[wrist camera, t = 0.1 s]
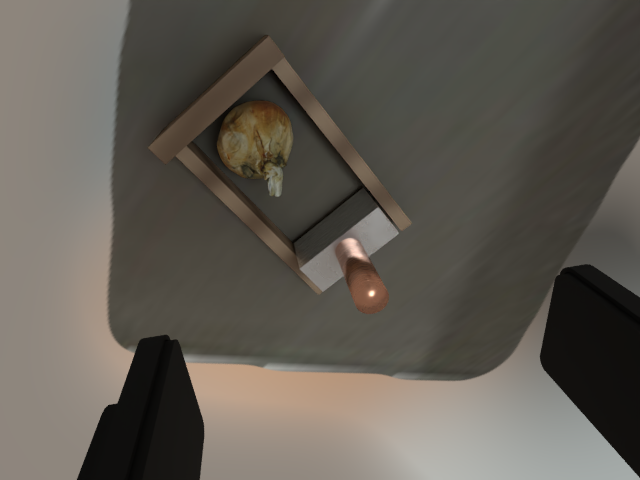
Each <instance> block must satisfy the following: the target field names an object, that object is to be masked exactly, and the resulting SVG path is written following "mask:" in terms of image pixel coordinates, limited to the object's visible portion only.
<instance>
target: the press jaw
mask: <svg viewBox="0 0 640 480" xmlns="http://www.w3.org/2000/svg"><path fill="white" fill-rule="evenodd" d="M398 234H399V232H398V231H397V230H396V228H395V227H394V226H393V224H392V223H391V222H390V221H389V219H388V218H387V217H386V215H385V214H384V213H383V211H382V210H381V209H380V208H379V206H378V205H377V204H376V203H375V201H374V200H373V199H372V198H371V196H370V195H369V194H368V193H367V191H366V190H365V189H364V188H362V189H361V190H360V191H358V192H357V193H356V194H355V195H353V196H352V197H351V198H350V199H348V200H347V201H346V202H345V203H343V204H342V205H341V206H340V207H338V208H337V209H336V210H335V211H333V212H332V213H331V214H330V215H329V216H327V217H326V218H325V219H324V220H322V221H321V222H320V223H319V224H317V225H316V226H315V227H314V228H312V229H311V230H310V231H309V232H307V233H306V234H305V235H304V236H302V237H301V238H300V239H299V240H297V241H296V242H295V243H294V247H295V251H296V256H297V260H298V265H299V269H300V270H301V271H302V272H303V273H304V274H305V275H306V276H307V277H308V278H309V279H310V280H311V281H312V282H313V283H314V284H315V285H316V286H317V287H318V288H319V289H320V290H321V291H322V292H323V291H324V290H326V289H327V288H328V287H330V286H331V285H332V284H334V283H335V282H336V281H338V280H339V279H340V278H341V277H343V276H344V277H345V280H346V282H347V285H348V287H349V290H350V292H351V295H352V297H353V300H354V302H355V305H356V307H357V309H358V310H359V311H361V312H363V313H366V314H373V313H377V312H379V311H381V310H382V309H383V308H384V307H385V306H386V305H387V303H388V300H389V294H388V291H387V290H386V288H385V286H384V284H383V282H382V280H381V279H380V277H379V275H378V273H377V271H376V269H375V267H374V266H373V264H372V262H371V260H370V258H369V256H370V255H372V254H373V253H374V252H375V251H377V250H378V249H379V248H381V247H382V246H383V245H385V244H386V243H387V242H389V241H390V240H391V239H392V238H394V237H395V236H396V235H398Z"/></svg>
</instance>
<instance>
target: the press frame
mask: <svg viewBox="0 0 640 480" xmlns="http://www.w3.org/2000/svg"><path fill="white" fill-rule="evenodd" d="M284 57H285V56H284V54H283V53H282V52H281V50H280V49H279V48H278V47H277V45H276V44H275V43H274V41H273V40H272V39H271V37H270V36H269V35H265V36H264V37H263V38H262V39H261V40H259V41H258V42H257V43H256V44H255V45H254V46H253V47H252V48H251V49H250V50H249V51H248V52H247V53H245V54H244V55H243V56H242V57H241V58H240V59H239V60H238V61H237V62H236V63H235V64H234V65H232V66H231V67H230V68H229V69H228V70H227V71H226V72H225V73H224V74H223V75H222V76H221V77H220V78H218V79H217V80H216V81H215V82H214V83H213V84H212V85H211V86H210V87H209V88H208V89H207V90H206V91H204V92H203V93H202V94H201V95H200V96H199V97H198V98H197V99H196V100H195V101H194V102H193V103H191V104H190V105H189V106H188V107H187V108H186V109H185V110H184V111H183V112H182V113H181V114H180V115H179V116H177V117H176V118H175V119H174V120H173V121H172V122H171V123H170V124H169V125H168V126H167V127H166V128H164V129H163V130H162V131H161V133H160V134H159V135H158V136H157V137H156V138H155V140H154V141H153V142H152V143H151V144H150V146H149V147H148V149H150V150H151V151H152V152H153V153H154V154H155V155H156V156H157V157H158V158H159V159H160V160H161V161H162V162H163V163H164V164H165V165H166V164H167V163H168V162H169V161H170V160H171V159H172V158H174V157H175V156H176V157H177V158H178V159H179V160H180V161H181V162H182V163H183V164H184V165H185V166H186V167H187V168H188V169H189V170H190V171H192V172H193V173H194V174H195V175H196V176H197V177H198V178H199V179H200V180H201V181H202V182H203V183H204V184H205V185H206V186H207V187H208V188H209V189H210V190H211V191H212V192H213V193H214V194H215V195H216V196H217V197H218V198H219V199H220V200H221V201H222V202H223V203H224V204H225V205H227V206H228V207H229V208H230V209H231V210H232V211H233V212H234V213H235V214H236V215H237V216H238V217H239V218H240V219H241V220H242V221H243V222H244V223H245V224H246V225H247V226H248V227H249V228H250V229H251V230H252V231H253V232H254V233H255V234H256V235H257V236H258V237H259V238H261V239H262V240H263V241H264V242H265V243H266V244H267V245H268V246H269V247H270V248H271V249H272V250H273V251H274V252H275V253H276V254H277V255H278V256H279V257H280V258H281V259H282V260H283V261H284V262H285V263H286V264H287V265H288V266H289V267H290V268H291V269H292V270H293V271H295V272H296V273H297V274H298V275H299V276H300V277H301V278H302V279H303V280H304V281H305V282H306V283H307V284H308V285H309V286H310V287H311V288H312V289H313V290H314V291H315V292H316V293H317V294H318V295H319V294H320V293H322V291H321V290H320V289H319V288H318V287H317V286H316V285H315V284H314V283H313V282H312V281H311V280H310V279H309V278H308V277H307V276H306V275H305V274H304V273H303V272H302V271H301V270H300V269H299V265H298V260H297V256H296V251H295V247H294V244H293V243H292V242H291V241H290V240H289V239H288V238H287V237H286V236H285V235H284V234H283V233H282V232H281V231H280V230H279V229H278V228H277V226H276V225H275V224H274V223H273V222H272V221H271V220H270V219H269V218H268V217H267V216H266V215H265V214H264V213H263V212H262V211H261V210H260V209H259V208H258V207H257V206H256V205H255V204H254V203H253V202H252V201H251V200H250V199H249V198H248V197H247V196H246V195H245V194H244V193H243V192H242V191H241V190H240V189H239V188H238V187H237V186H236V185H235V184H234V183H233V182H232V181H231V180H230V179H229V178H228V177H227V176H226V175H225V174H224V173H223V172H222V171H221V170H220V169H219V168H218V167H217V166H216V165H215V164H214V163H213V162H212V161H211V160H210V159H209V158H208V157H207V155H206V154H205V153H204V152H203V151H202V150H201V149H200V148H199V147H198V146H197V145H196V144H195V143H194V142H193V141H192V140H193V139H195V138H196V137H197V136H198V135H199V134H200V133H201V132H202V131H203V130H204V129H206V128H207V127H208V126H209V125H210V124H211V123H212V122H213V121H214V120H216V119H217V118H218V117H219V116H220V115H221V114H222V113H223V112H224V111H225V110H227V109H228V108H229V107H230V106H231V105H232V104H233V103H234V102H235V101H237V100H238V99H239V98H240V97H241V96H242V95H243V94H244V93H245V92H246V91H248V90H249V89H250V88H251V87H252V86H253V85H254V84H255V83H256V82H257V81H259V80H260V79H261V78H262V77H263V76H264V75H265V74H266V73H267V72H269V71H270V70H271V69H273V71H274V72H275V73H276V74H277V76H278V77H279V78H280V79H281V81H282V82H283V83H284V84H285V86H286V87H287V88H288V89H289V91H290V92H291V93H292V95H293V96H294V97H295V98H296V100H297V101H298V102H299V103H300V105H301V106H302V107H303V108H304V110H305V111H306V112H307V113H308V115H309V116H310V117H311V118H312V120H313V121H314V122H315V123H316V125H317V126H318V127H319V128H320V130H321V131H322V132H323V133H324V135H325V136H326V137H327V138H328V140H329V141H330V142H331V143H332V145H333V146H334V147H335V148H336V150H337V151H338V152H339V153H340V155H341V156H342V157H343V158H344V160H345V161H346V162H347V163H348V165H349V166H350V167H351V168H352V170H353V171H354V172H355V174H356V175H357V176H358V177H359V179H360V180H361V181H362V182H363V184H364V185H365V186H366V187H367V189H368V190H369V191H370V192H371V194H372V195H373V196H374V197H375V199H376V200H377V201H378V202H379V204H380V205H381V206H382V207H383V209H384V210H385V211H386V212H387V214H388V215H389V216H390V217H391V219H392V220H393V221H394V222H395V224H396V225H397V226H398V227H399V229H400V230H401V231H403V230H404V229H405V228H407V227H408V226H409V225H411V224H412V223H411V221H410V220H409V219H408V217H407V216H406V215H405V214H404V212H403V211H402V210H401V208H400V207H399V206H398V204H397V203H396V202H395V201H394V199H393V198H392V197H391V195H390V194H389V193H388V191H387V190H386V189H385V188H384V186H383V185H382V184H381V182H380V181H379V180H378V179H377V177H376V176H375V175H374V173H373V172H372V171H371V169H370V168H369V167H368V166H367V164H366V163H365V162H364V160H363V159H362V158H361V156H360V155H359V154H358V153H357V151H356V150H355V149H354V147H353V146H352V145H351V144H350V142H349V141H348V140H347V138H346V137H345V136H344V134H343V133H342V132H341V131H340V129H339V128H338V127H337V125H336V124H335V123H334V121H333V120H332V119H331V118H330V116H329V115H328V114H327V112H326V111H325V110H324V109H323V107H322V106H321V105H320V103H319V102H318V101H317V99H316V98H315V97H314V96H313V94H312V93H311V92H310V90H309V89H308V88H307V86H306V85H305V84H304V83H303V81H302V80H301V79H300V77H299V76H298V75H297V74H296V72H295V71H294V70H293V68H292V67H291V66H290V64H289V63H288V62H287V61H286V59H285V58H284Z"/></svg>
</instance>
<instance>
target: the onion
mask: <svg viewBox="0 0 640 480" xmlns="http://www.w3.org/2000/svg"><path fill="white" fill-rule="evenodd" d="M292 145H293V132H292V126H291V122H290V119H289V117H288V116H287V114H286V113H285V112H284V110H283V109H282V108H281V107H279V106H278V105H276V104H274V103H272V102H269V101H249V102H245V103H242V104H240V105H238V106H236V107H234V108H233V109H232V110H231V111H230V112H229V113H228V114H227V116H226V117H225V119H224V120H223V122H222V126H221V129H220V133H219V136H218V141H217V149H218V153H219V155H220V158H221V160H222V161H223V163H224V164H225V165H226V166H227V167H228V168H229V169H230V170H231V171H233V172H235V173H236V174H238V175H239V176H241V177H243V178H247V179H248V178H251V179H260V178H264V179H265V180H266V179H267V182H268V190H269V194H270V196H274V195H275V196H276V197H279V196H280V195H281V193H282V180H283V172H282V169H283V167H285V166H286V165H287V164H286V163H287V160H288V157H289V154H290V151H291V148H292Z"/></svg>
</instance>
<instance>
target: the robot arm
mask: <svg viewBox="0 0 640 480" xmlns="http://www.w3.org/2000/svg"><path fill="white" fill-rule="evenodd" d="M540 361H541V364H542V367H543V369H544V370H545V371H546V372H547V374H549V376H550V377H551V378H552V379H553V380H554V381H555V383H557V385H558V386H559V387H560V388H561V389H562V390H563V392H564V393H565V394H566V395H567V396H568V397H569V398H570V399H571V401H572V402H573V403H574V404H575V405H576V406H577V407H578V409H580V411H581V412H582V413H583V414H584V415H585V416H586V417H587V419H588V420H589V421H590V422H591V423H592V424H593V425H594V427H595V428H596V429H597V430H598V431H599V432H600V433H601V434H602V436H603V437H604V438H605V439H606V440H607V441H608V442H609V443H610V445H611V446H612V447H613V448H614V449H615V450H616V451H617V452H618V454H619V455H620V456H621V457H622V458H623V459H624V460H625V462H626V463H627V464H628V465H629V466H630V467H631V468H632V469H633V471H634V472H635V473H636V474H637V475H638V476H639V477H640V297H638V296H637V295H635V294H634V293H632V292H631V291H629V290H628V289H626V288H625V287H623V286H622V285H620V284H619V283H617V282H616V281H614V280H613V279H611V278H610V277H608V276H607V275H605V274H604V273H603V272H601V271H599V270H598V269H597V268H595V267H594V266H591V265H587V264H585V265H579V266H573V267H567V268H564V269H563V270H562V271H561V272H560V275H558V276H557V277H556V279H555V282H554V287H553V292H552V298H551V303H550V308H549V313H548V319H547V323H546V328H545V333H544V338H543V344H542V348H541V353H540ZM203 443H204V423H203V419H202V415H201V412H200V409H199V405H198V402H197V399H196V396H195V392H194V389H193V386H192V383H191V380H190V376H189V373H188V370H187V367H186V363H185V360H184V357H183V354H182V350H181V347H180V344H179V342H178V340H170V338H169V336H168V335H161V336H155V337H149V338H143V339H141V340H140V341H139V343H138V346H137V349H136V352H135V355H134V358H133V361H132V364H131V366H130V369H129V372H128V375H127V378H126V381H125V384H124V387H123V389H122V393H121V395H120V398H119V401H118V404H112V405H108V406H107V407H106V408H105V409H104V412H103V413H102V415H101V418H100V420H99V423H98V425H97V428H96V431H95V433H94V436H93V439H92V441H91V444H90V447H89V449H88V452H87V455H86V457H85V460H84V462H83V465H82V468H81V471H80V473H79V476H78V478H77V480H200V471H201V462H202V451H203Z"/></svg>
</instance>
